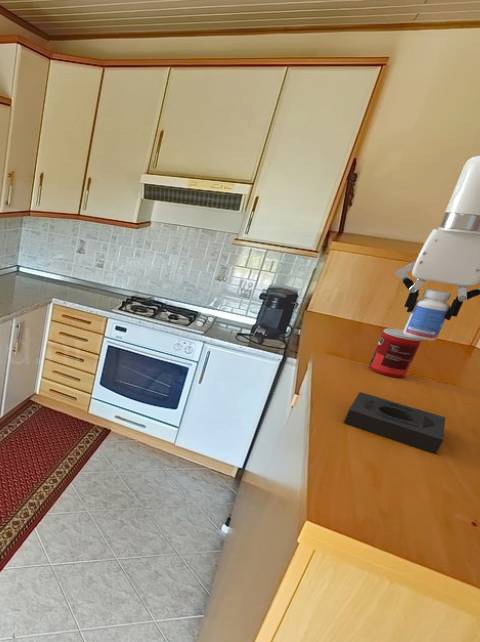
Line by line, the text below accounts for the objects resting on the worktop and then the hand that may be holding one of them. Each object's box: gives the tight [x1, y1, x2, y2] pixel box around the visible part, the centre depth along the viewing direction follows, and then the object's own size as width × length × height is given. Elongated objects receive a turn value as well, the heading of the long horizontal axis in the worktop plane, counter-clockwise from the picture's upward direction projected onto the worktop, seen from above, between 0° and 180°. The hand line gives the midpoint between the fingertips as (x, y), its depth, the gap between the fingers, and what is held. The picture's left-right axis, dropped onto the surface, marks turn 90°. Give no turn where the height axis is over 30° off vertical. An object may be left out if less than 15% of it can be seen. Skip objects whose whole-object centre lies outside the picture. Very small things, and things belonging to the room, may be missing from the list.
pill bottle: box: [403, 288, 452, 341], centre depth 100 cm, size 6×5×10 cm
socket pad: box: [343, 391, 446, 455], centre depth 97 cm, size 14×14×3 cm
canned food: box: [369, 327, 423, 379], centre depth 127 cm, size 8×8×11 cm
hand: (428, 314), depth 100 cm, fingers closed on pill bottle, 5 cm apart
